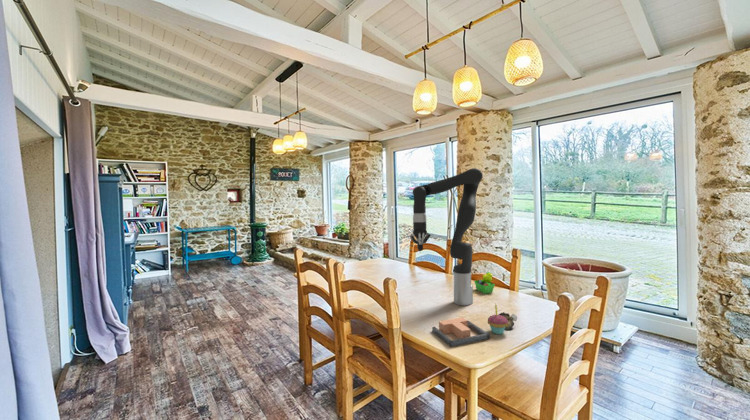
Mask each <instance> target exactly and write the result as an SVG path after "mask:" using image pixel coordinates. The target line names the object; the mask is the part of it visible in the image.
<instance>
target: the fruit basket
mask: <svg viewBox="0 0 750 420" xmlns="http://www.w3.org/2000/svg"><path fill="white" fill-rule="evenodd" d="M492 281H493V274H492V272H489V271H487V272H486V273H485V274H483V275H482V279H480V280H474V281H473V282H474V284H475V288H476V290H477V291H479V292H481V293H483V294H492V293H493V292H494V288H495V286H496V285H495V283H492Z"/></svg>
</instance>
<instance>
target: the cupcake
mask: <svg viewBox="0 0 750 420" xmlns="http://www.w3.org/2000/svg"><path fill="white" fill-rule="evenodd" d="M494 309H495V314H493V315H490V316H489V317H487V324H488V325H489V327H490V330H491V332H492V333H493V334H496V335H503V334H504V332H505V330H504V329H505V327H507V326H508V324H509V323H508V320H507V319H506V318H505V317H503V316H501V315H498V306H497V303H495V305H494Z"/></svg>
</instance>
